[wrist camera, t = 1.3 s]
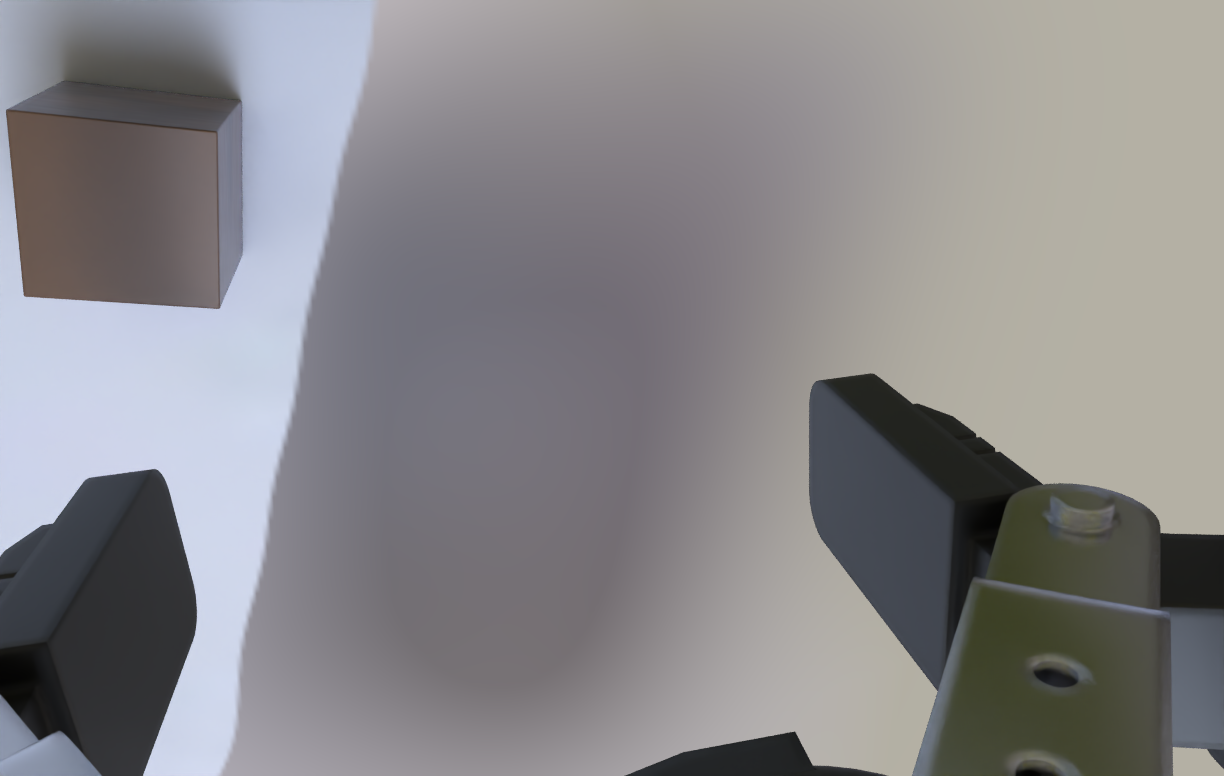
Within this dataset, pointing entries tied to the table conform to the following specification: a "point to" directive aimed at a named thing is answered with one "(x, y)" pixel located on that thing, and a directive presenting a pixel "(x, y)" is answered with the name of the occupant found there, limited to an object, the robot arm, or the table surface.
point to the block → (127, 194)
